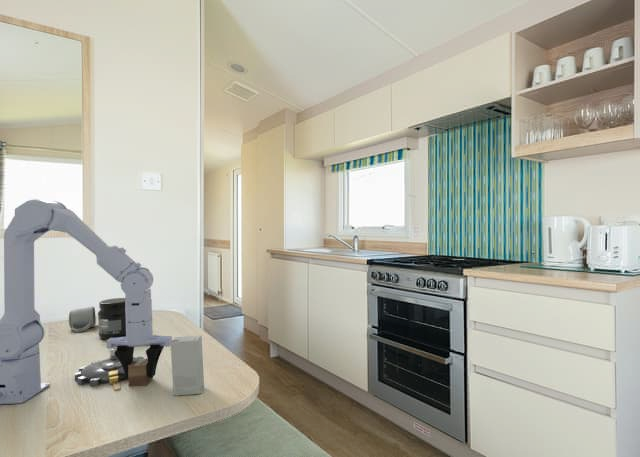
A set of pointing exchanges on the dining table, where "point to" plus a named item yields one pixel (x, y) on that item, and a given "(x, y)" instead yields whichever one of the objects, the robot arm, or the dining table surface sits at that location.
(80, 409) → the dining table surface
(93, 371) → the sprocket
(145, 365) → the walnut block
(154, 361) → the robot arm
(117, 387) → the pointer
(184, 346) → the skincare box
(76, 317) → the ceramic mug
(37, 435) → the dining table surface
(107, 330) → the supplement container
